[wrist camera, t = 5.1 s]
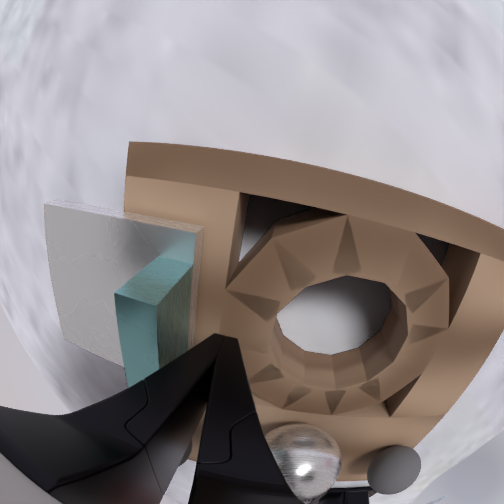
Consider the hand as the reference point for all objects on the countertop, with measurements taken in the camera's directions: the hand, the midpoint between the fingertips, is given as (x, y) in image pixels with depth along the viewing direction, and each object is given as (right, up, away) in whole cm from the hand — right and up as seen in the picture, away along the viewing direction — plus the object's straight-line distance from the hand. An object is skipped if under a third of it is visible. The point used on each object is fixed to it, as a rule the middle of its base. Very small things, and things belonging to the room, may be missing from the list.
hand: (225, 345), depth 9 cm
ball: (+3, -7, +1) cm, 8 cm away
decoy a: (+10, -10, +2) cm, 14 cm away
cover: (-5, +1, +2) cm, 5 cm away
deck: (+4, -3, +5) cm, 7 cm away
